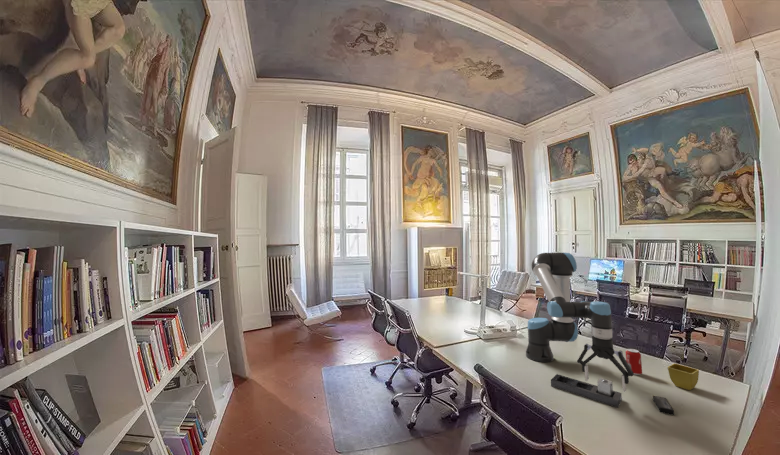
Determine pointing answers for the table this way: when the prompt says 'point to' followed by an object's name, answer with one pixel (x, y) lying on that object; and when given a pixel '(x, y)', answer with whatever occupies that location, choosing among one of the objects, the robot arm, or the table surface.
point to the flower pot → (683, 376)
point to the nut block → (605, 387)
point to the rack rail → (585, 390)
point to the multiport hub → (663, 405)
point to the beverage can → (634, 361)
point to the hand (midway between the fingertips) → (605, 385)
